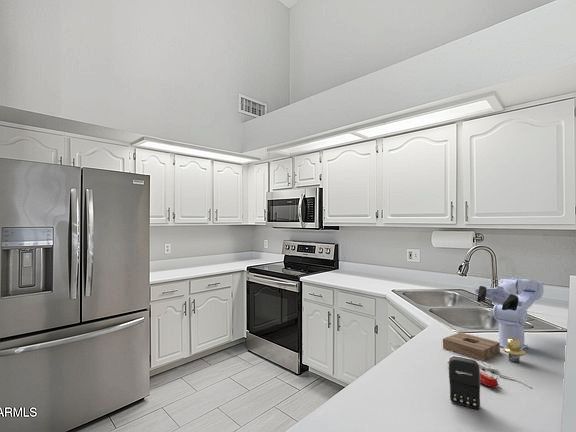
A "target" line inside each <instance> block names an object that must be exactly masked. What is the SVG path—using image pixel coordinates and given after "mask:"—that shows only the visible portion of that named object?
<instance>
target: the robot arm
mask: <svg viewBox="0 0 576 432" xmlns="http://www.w3.org/2000/svg"><path fill="white" fill-rule="evenodd" d="M544 288H545V287H544V283H543V282H542V281H541V280H534V279H533V280H532V279H525V278H519V276H513V277H510V278H500V279H499V283H498V284H497V286H496V287H486V286H484V285H479V287H476V288H475V294H477V299H476V301H477V303H481V302H486V299H488V300H490V301H491V302H492V303H494V305H493V308H492V316H493V318H494V320H496V322H497V323H498V342H500V348H503V347H508V346H507V338H516V339H519V340H520V348H521V349H522V350H524V349H526V348H527V347H529V346H528V344H526V343H525V329H524V327H523V325H526V323H527V319H528V310H529V309H530V308H531V307H532V306H533V304H534V303H535V301H539V300H540V299H541V298H542V297H543V295H544Z"/></svg>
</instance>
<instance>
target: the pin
mask: <svg viewBox="0 0 576 432" xmlns="http://www.w3.org/2000/svg"><path fill="white" fill-rule="evenodd" d="M507 346H508V347H502V349H503V352H504V353H507V354H508V361H509V362H511V363H515V364H520V362H521V359H520V358H521V356H526V351H525V350H524V349H521V348H520V340H519V339H516V338H507Z"/></svg>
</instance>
